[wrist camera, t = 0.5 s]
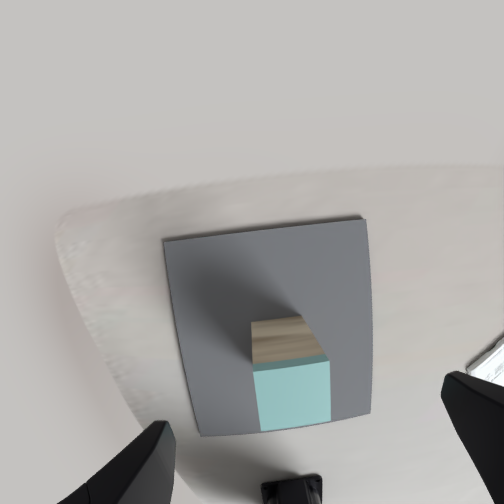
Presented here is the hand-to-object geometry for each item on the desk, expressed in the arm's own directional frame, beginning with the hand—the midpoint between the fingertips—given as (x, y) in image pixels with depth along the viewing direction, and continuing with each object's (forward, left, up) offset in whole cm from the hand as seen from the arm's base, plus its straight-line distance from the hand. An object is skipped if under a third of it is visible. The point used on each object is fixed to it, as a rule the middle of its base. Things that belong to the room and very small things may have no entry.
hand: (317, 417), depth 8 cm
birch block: (-3, 0, -16) cm, 16 cm away
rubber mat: (-3, 0, -16) cm, 17 cm away
